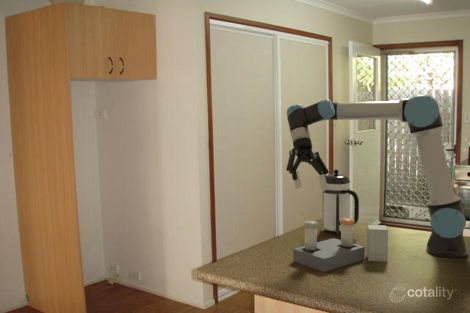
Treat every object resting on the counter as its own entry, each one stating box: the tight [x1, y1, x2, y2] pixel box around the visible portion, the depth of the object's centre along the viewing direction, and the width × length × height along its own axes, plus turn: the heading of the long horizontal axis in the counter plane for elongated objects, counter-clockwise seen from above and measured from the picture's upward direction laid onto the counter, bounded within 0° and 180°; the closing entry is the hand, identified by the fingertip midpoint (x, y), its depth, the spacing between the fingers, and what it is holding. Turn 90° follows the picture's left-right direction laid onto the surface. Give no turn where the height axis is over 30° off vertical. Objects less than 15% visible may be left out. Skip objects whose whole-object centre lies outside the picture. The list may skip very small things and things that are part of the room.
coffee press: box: [319, 169, 360, 236], centre depth 225 cm, size 17×16×30 cm
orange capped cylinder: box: [340, 217, 355, 247], centre depth 187 cm, size 6×6×10 cm
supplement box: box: [366, 224, 389, 263], centre depth 186 cm, size 7×7×13 cm
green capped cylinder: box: [302, 220, 319, 250], centre depth 183 cm, size 6×6×10 cm
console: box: [292, 237, 366, 273], centre depth 186 cm, size 16×23×5 cm
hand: (312, 189), depth 187 cm, fingers open, 13 cm apart
